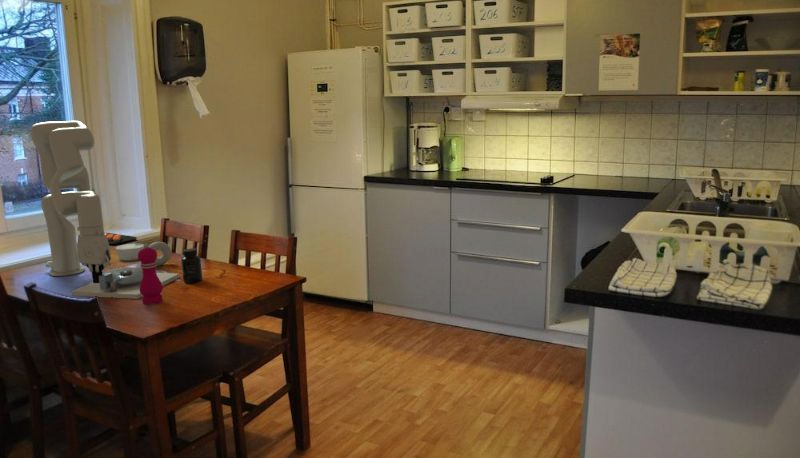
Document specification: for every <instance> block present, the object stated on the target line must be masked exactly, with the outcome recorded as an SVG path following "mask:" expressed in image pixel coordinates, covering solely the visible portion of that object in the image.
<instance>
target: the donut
mask: <svg viewBox="0 0 800 458" xmlns="http://www.w3.org/2000/svg"><path fill="white" fill-rule="evenodd" d="M149 248H153V249H154V250H155V251H156V252H157V251H161V252H162V254H161V256H160V257H157V258H156V260H155V261H156V264H157V266H160V267H161V266H163V265H165V264H166V263H168V261H169V260H170V259H171V257H172V250H171V248H170V246H169V244H167V243H166V242H163V241H154V242H152V243H150V244H149ZM157 266H156V267H157Z"/></svg>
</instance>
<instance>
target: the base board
mask: <svg viewBox="0 0 800 458" xmlns="http://www.w3.org/2000/svg"><path fill="white" fill-rule="evenodd" d="M156 274H157V276H158V278H159V280H160V281H161V283H162V287H164V286H166V285H167V284H169V283H172V282H174V281H176V280H177V278H178V279H179V278H180V273H172V272H171V273H169V272H156ZM140 284H141V282H139V283H134V284H128V285H116V290H117V291H116V292H110V287H109V288H107V289H100V283H93V281H92V282H90V283H87V284H85V285H84V286H83V285H82V286H81V287H79V288H76V289H74V290H71V296H75V297H90V298H91V297H92V298H93V297H95V296H97V297H95V298H111V297H113V298H112V299H115V298H117V299H133V300H134V299H135V300H138V299H141V298H142V297H144V296H143V295H142V294H141V293H140Z"/></svg>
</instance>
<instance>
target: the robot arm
mask: <svg viewBox="0 0 800 458" xmlns="http://www.w3.org/2000/svg"><path fill="white" fill-rule="evenodd" d="M30 134H31V135H30V136H31V139H32V142H33V144H34V146H35V148H36V150H37V152H38V154H39V160H40V168H41V177H42V183H43V185H44V187H45V189H47V190H48V191H49V190H50V191H49V192H50V194H49V193H48V194H46V195H45V196H43V197H42V199H41V201H40V205H41V210H42V212H43V215H44V219H45V222H46V224H45V225H46V228H47V233H48V240H49V241H48V242H49V247H50V256H51V261H50V260H49V261H47V263H45V268H50V270H49V273H48V274H49V276H52V277H67V276H72V275H76V274H80V273H83V272H85V270H86V269H85V267H86V268H88V269H89V270H88V271H89V272H90V273H91V277H92V282H93V283H99V276H100V275H102V274H103V270H104V269H105V268H106V267H110V266H111V260H112V256H111V255H112V254H111V248H110V244H109V243H108V239H107V236H106V234H104V232H105V228H104V219H103V211H102V202H101V198H100V196H99V195H98V194H97V192H95V191H93V190H91V183H90V176H89V172H88V169H87V168H86V166H85V164H84V161H83V158H82V155H81V152H80V151H82V152H83V151H90V150H92V149H93V148H94V146H95V139H94V134H93V132H92V131H91V129H90V128H89V127H88V126H87V125H85V123H83V122H81V121H80V120H66V121H65V120H63V121H45V122H44V121H43V122H39V123H38V122H37V123H35V124H32V126H31V129H30ZM69 189H76V190H72V191H61V190H69ZM73 216H77V220H78V226H77V231H79V234H78V235H77V233H76V227H75V225H74V224H73V223H72V222H71V221H70V220H68V219H67V217H73Z"/></svg>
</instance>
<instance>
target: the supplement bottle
mask: <svg viewBox="0 0 800 458" xmlns="http://www.w3.org/2000/svg"><path fill="white" fill-rule="evenodd" d="M197 250H198V249H197V248H186V249H183V250H182V255H183V257H182V258H181V261H180V263H181V272H182V281H183V283H185V284H187V285H189V284H197V283H200V282H202V281H203V271H202V261H201V260H202V259H201V257H200V256H199V255H198V251H197Z"/></svg>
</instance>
